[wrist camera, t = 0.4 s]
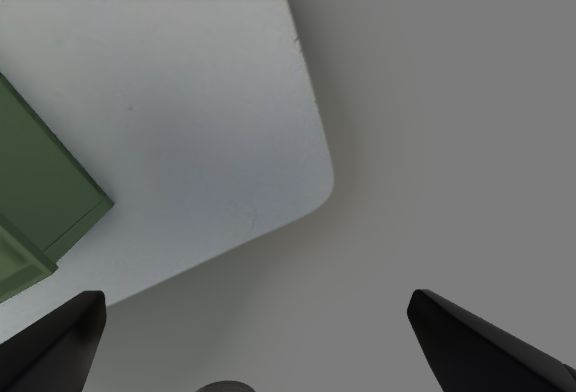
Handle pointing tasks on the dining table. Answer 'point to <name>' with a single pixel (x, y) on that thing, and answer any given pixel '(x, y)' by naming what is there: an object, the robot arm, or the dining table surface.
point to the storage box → (38, 197)
